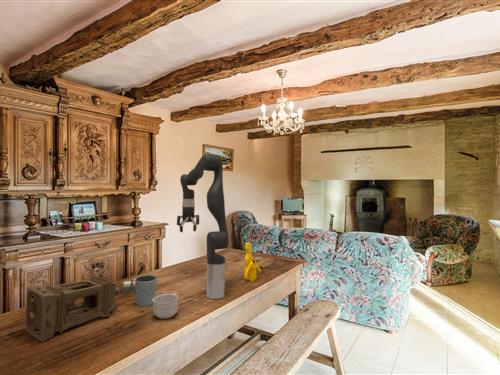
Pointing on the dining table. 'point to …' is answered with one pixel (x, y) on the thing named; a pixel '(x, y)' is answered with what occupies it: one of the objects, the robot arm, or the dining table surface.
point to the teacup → (165, 305)
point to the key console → (128, 289)
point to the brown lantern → (67, 305)
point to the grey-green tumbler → (145, 289)
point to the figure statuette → (250, 264)
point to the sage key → (127, 284)
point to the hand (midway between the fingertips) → (188, 231)
